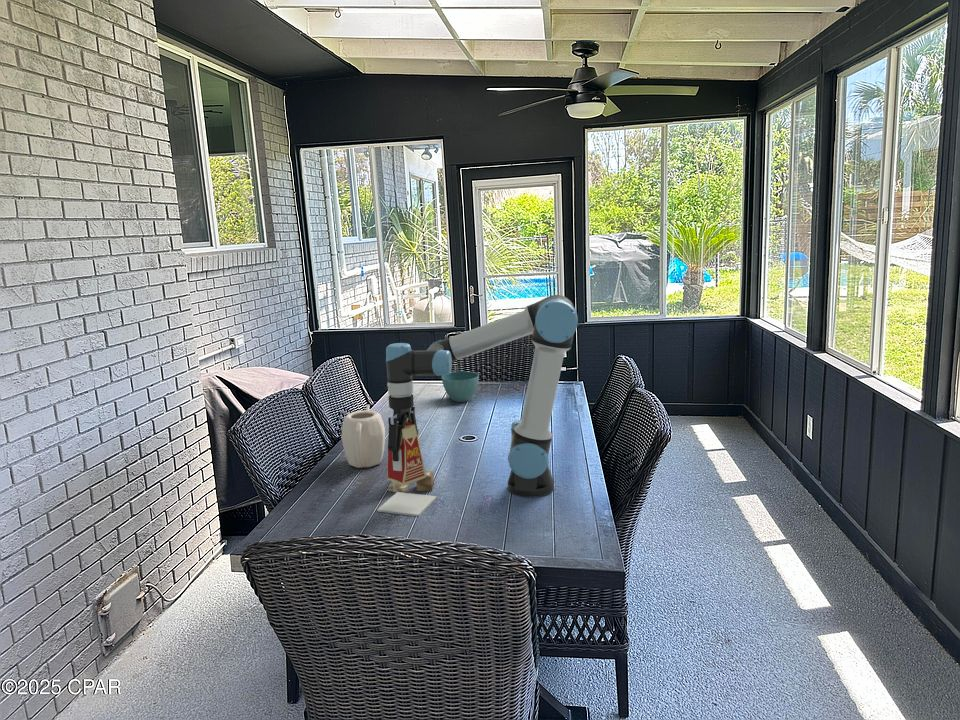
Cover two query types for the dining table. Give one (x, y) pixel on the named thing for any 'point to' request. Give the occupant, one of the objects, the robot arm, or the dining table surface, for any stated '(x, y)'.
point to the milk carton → (407, 458)
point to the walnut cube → (426, 482)
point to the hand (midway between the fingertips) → (404, 464)
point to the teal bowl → (460, 385)
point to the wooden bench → (397, 487)
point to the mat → (407, 504)
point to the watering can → (363, 438)
